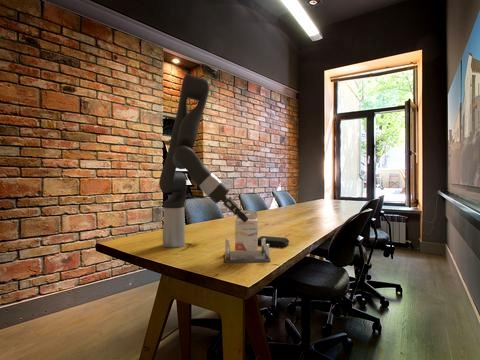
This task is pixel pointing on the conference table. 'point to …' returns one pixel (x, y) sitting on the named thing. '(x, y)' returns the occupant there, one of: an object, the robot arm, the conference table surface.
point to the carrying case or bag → (274, 241)
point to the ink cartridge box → (246, 232)
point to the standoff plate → (247, 254)
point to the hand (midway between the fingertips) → (245, 219)
